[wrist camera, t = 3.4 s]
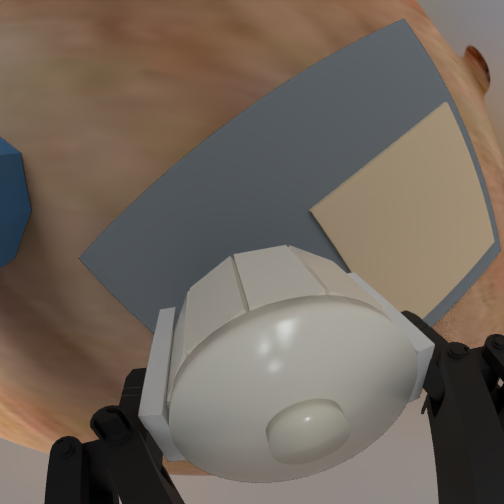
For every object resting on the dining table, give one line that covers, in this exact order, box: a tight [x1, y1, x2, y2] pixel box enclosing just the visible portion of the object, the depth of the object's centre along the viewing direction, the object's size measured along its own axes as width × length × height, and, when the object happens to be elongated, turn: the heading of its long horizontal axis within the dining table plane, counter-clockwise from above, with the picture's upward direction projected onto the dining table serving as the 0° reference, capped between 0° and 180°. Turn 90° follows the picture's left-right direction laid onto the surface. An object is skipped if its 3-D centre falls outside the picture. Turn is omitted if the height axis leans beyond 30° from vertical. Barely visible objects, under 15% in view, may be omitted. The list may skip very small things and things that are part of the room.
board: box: [78, 19, 501, 333], centre depth 13 cm, size 20×24×9 cm
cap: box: [167, 245, 418, 483], centre depth 10 cm, size 8×8×6 cm
